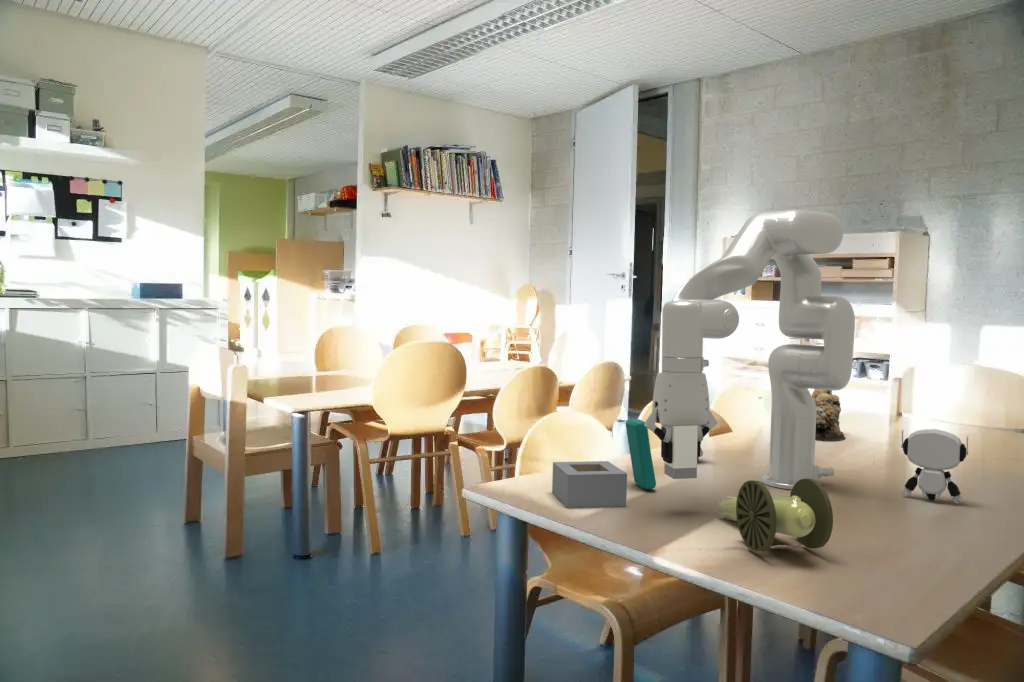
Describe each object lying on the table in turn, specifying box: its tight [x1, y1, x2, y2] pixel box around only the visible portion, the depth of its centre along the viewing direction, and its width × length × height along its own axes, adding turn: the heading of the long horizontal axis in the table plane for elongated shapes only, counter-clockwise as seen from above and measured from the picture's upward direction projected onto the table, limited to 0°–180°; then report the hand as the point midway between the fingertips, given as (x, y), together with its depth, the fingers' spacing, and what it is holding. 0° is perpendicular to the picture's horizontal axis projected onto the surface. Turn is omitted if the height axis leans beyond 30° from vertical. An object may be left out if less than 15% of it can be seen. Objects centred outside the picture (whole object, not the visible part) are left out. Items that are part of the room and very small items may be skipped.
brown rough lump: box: [811, 389, 846, 443], centre depth 229 cm, size 18×12×17 cm, turn 147°
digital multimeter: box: [625, 418, 657, 490], centre depth 163 cm, size 7×15×3 cm
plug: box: [663, 425, 698, 480], centre depth 144 cm, size 5×5×10 cm
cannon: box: [717, 479, 834, 553], centre depth 130 cm, size 25×12×11 cm, turn 13°
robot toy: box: [900, 428, 969, 504], centre depth 159 cm, size 12×4×15 cm, turn 54°
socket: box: [551, 460, 628, 509], centre depth 153 cm, size 12×12×6 cm
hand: (680, 460), depth 144 cm, fingers closed on plug, 4 cm apart
